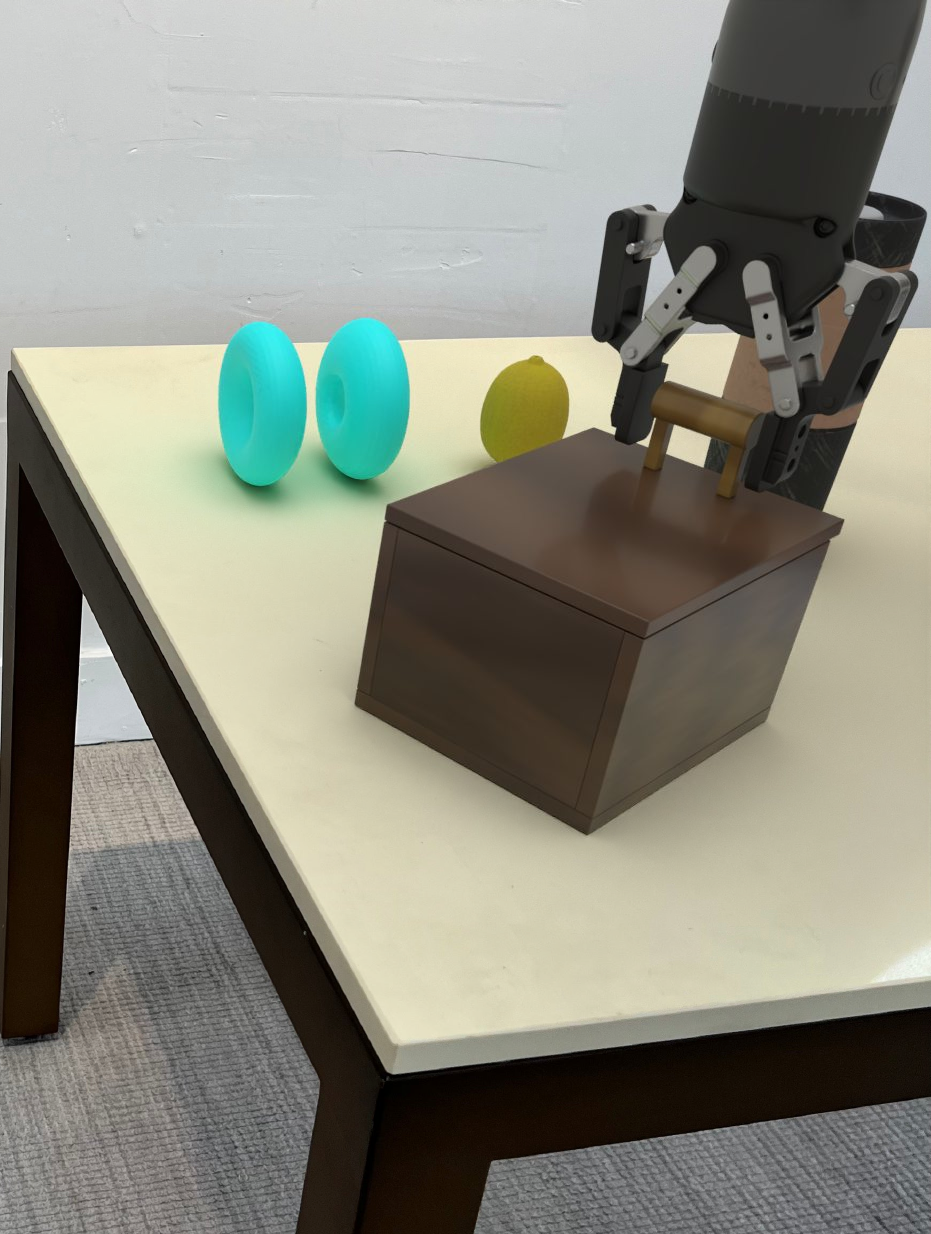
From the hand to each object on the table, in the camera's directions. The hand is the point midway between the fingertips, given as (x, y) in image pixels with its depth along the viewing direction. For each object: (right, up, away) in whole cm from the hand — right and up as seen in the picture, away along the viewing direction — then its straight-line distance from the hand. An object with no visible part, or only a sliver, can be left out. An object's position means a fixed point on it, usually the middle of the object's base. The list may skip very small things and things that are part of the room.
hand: (693, 461), depth 71 cm
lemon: (-1, +5, +28) cm, 29 cm away
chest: (-5, -12, +3) cm, 13 cm away
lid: (-5, -4, -2) cm, 6 cm away
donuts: (-16, +5, +26) cm, 31 cm away
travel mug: (+12, 0, +21) cm, 24 cm away
